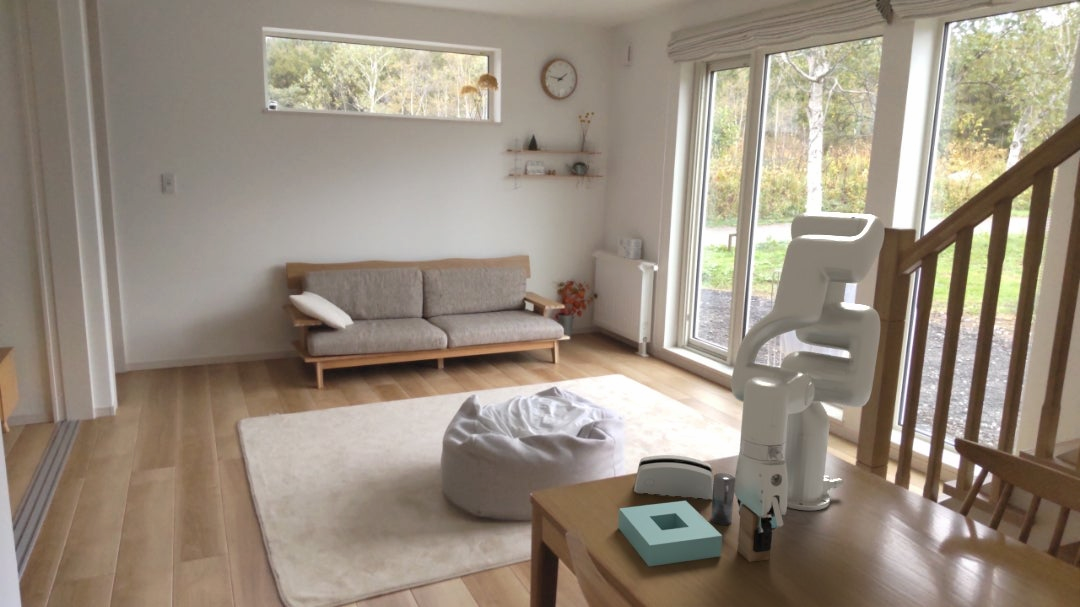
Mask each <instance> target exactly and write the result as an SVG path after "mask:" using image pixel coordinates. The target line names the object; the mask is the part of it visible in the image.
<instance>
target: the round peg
mask: <svg viewBox="0 0 1080 607" xmlns="http://www.w3.org/2000/svg"><path fill="white" fill-rule="evenodd" d="M734 485H735V476H734V475H731V474H729V473H724V472H722V473H716V474H714V475H713V497H712V500H711V515H710V520H712V523H714V524H716V525H717V526H718V525H719V526H728V525H731V524H732V523H733V521H732V520H733V513H734V512H733V509H734V500H735V497H734V496H735V493H734Z"/></svg>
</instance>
